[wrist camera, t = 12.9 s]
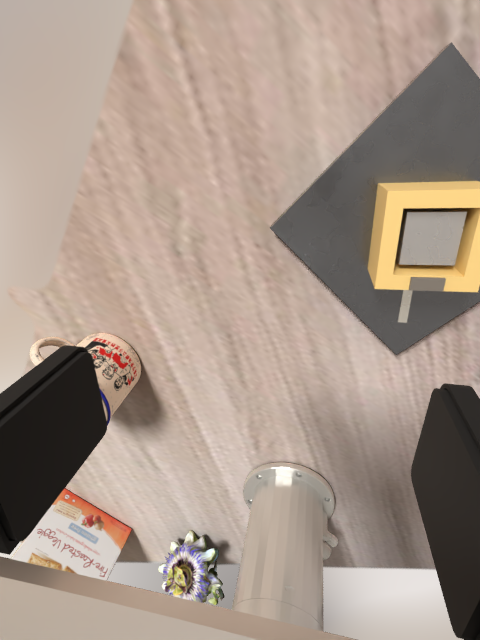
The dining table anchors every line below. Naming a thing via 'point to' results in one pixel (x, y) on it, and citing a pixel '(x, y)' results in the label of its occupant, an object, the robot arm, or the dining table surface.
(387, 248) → the collar
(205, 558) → the passion flower
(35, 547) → the cracker box
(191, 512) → the dining table surface
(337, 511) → the dining table surface
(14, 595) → the robot arm
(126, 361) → the teacup with lid
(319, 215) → the post plate
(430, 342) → the dining table surface
